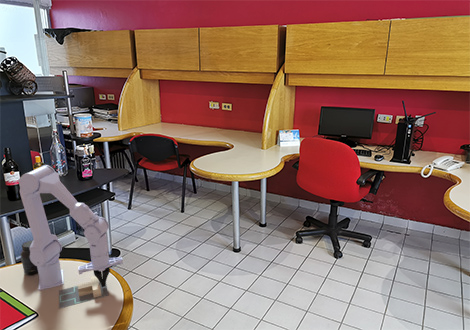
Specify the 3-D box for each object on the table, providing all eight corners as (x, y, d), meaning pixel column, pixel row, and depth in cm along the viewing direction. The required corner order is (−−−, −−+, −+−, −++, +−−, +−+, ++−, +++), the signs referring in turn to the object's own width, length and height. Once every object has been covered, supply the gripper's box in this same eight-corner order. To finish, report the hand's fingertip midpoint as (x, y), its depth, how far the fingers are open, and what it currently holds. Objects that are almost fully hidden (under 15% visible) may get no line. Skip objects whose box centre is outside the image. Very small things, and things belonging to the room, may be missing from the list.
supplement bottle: (26, 267, 136) (20, 240, 132) (45, 264, 138) (40, 237, 135) (22, 277, 130) (16, 249, 126) (43, 274, 132) (37, 246, 128)
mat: (59, 291, 123) (59, 290, 123) (105, 279, 130) (105, 279, 130) (59, 309, 115) (59, 308, 115) (108, 296, 121) (108, 295, 121)
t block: (78, 287, 125) (77, 280, 124) (98, 282, 128) (98, 275, 127) (79, 301, 118) (78, 294, 117) (101, 295, 121) (100, 288, 120)
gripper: (77, 263, 114) (82, 297, 118) (122, 253, 120) (126, 286, 124) (76, 252, 120) (80, 285, 124) (119, 243, 126) (122, 275, 130)
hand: (103, 285), depth 125 cm, fingers closed
